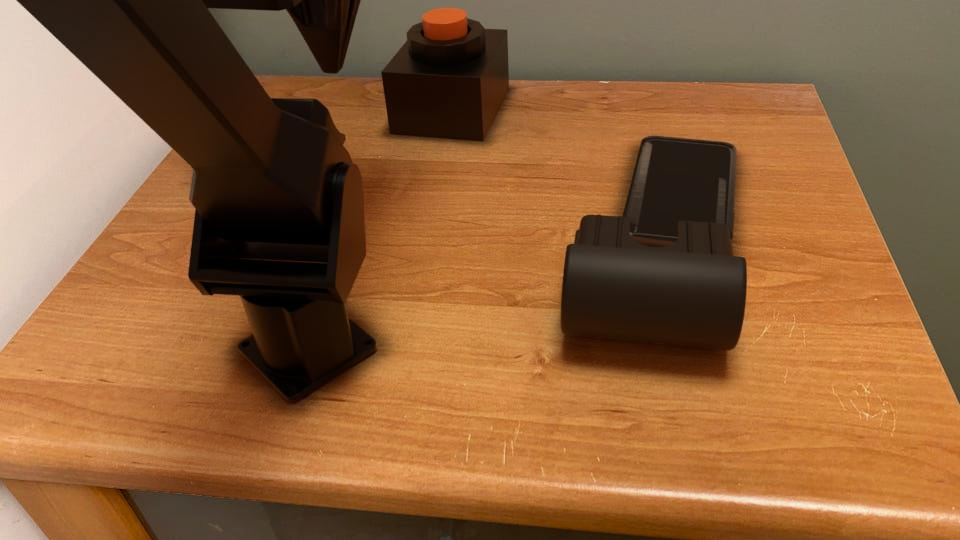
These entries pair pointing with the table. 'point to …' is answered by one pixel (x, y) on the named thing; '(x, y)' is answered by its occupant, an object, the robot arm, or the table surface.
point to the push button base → (447, 84)
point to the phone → (680, 187)
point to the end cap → (654, 285)
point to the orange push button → (445, 24)
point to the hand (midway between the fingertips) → (332, 71)
